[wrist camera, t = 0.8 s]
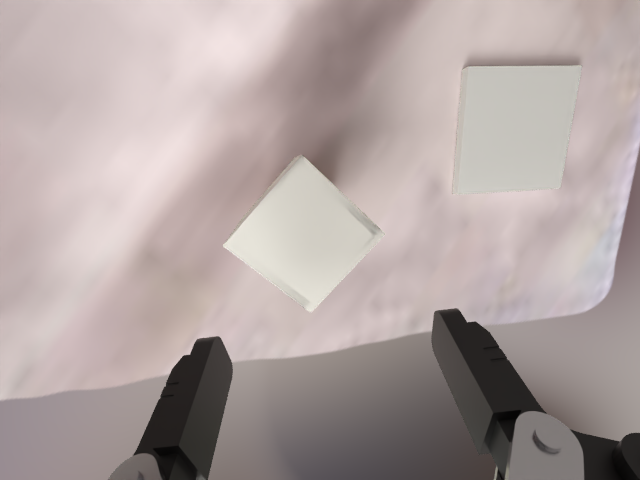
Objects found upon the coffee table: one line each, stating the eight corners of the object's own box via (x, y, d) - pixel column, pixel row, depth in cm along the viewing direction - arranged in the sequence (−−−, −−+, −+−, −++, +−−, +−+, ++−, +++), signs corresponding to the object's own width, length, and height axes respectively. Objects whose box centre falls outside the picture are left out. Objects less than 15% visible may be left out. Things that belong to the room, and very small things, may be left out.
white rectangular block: (242, 217, 23) (222, 245, 15) (294, 157, 22) (301, 154, 14) (301, 265, 24) (310, 312, 17) (352, 210, 24) (385, 234, 16)
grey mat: (462, 69, 28) (468, 66, 27) (572, 68, 29) (582, 65, 28) (452, 193, 31) (457, 194, 30) (552, 187, 33) (560, 188, 32)
